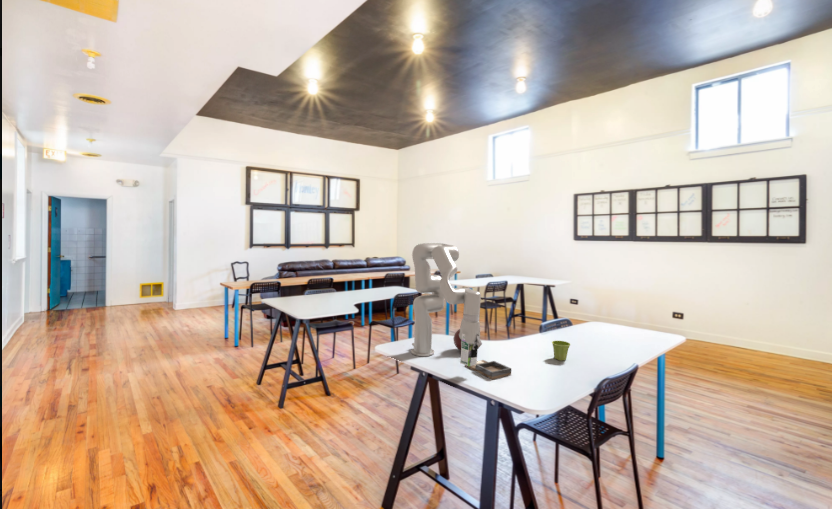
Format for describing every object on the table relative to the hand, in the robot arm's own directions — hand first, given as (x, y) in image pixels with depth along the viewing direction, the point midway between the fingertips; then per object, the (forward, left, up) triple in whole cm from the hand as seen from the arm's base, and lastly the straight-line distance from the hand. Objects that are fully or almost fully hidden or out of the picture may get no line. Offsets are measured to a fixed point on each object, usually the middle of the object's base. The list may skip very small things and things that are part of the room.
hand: (469, 354), depth 199 cm
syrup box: (0, 0, -5) cm, 5 cm away
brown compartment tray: (-1, +13, -10) cm, 17 cm away
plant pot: (+4, +60, -11) cm, 61 cm away
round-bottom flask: (-30, +22, -11) cm, 39 cm away
